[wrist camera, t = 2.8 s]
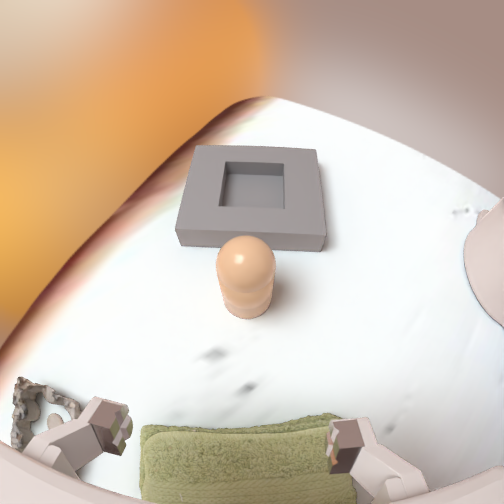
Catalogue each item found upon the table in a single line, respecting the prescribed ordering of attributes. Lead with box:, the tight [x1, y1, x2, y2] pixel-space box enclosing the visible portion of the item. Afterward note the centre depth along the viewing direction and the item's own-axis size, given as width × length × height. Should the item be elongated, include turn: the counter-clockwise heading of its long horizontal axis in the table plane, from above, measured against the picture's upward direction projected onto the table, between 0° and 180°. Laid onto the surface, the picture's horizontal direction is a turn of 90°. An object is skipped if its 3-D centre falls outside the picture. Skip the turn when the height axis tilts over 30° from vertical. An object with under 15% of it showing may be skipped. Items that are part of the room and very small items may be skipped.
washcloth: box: [139, 413, 357, 504], centre depth 18 cm, size 13×18×3 cm
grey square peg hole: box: [175, 145, 326, 252], centre depth 32 cm, size 14×12×3 cm
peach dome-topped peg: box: [216, 235, 276, 319], centre depth 24 cm, size 4×4×8 cm
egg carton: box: [11, 377, 81, 453], centre depth 18 cm, size 11×8×4 cm
